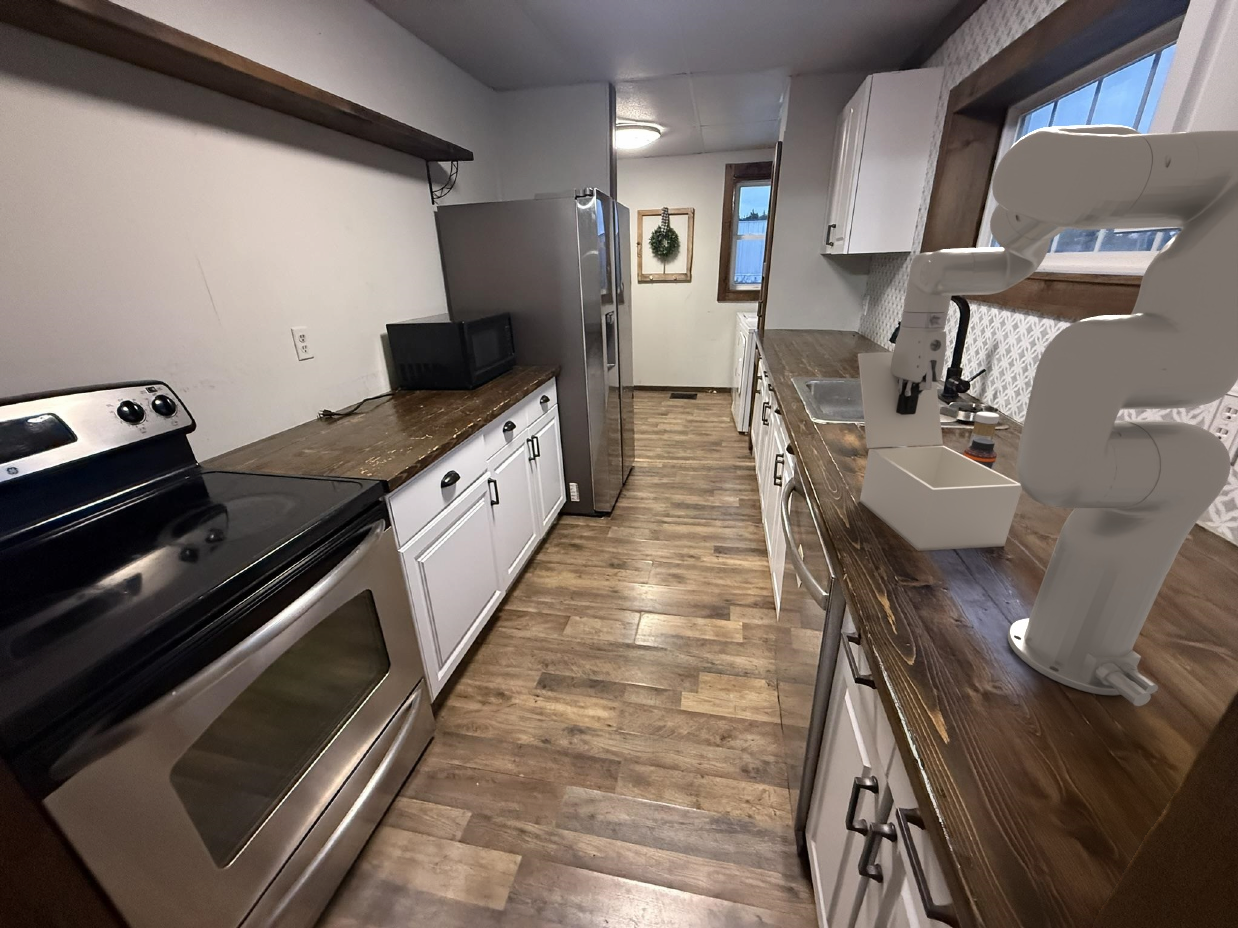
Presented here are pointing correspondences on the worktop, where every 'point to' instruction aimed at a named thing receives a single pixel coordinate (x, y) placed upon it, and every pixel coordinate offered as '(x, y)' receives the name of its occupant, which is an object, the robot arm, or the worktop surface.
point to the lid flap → (895, 407)
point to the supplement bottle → (982, 452)
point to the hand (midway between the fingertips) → (905, 413)
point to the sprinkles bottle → (984, 425)
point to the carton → (939, 497)
